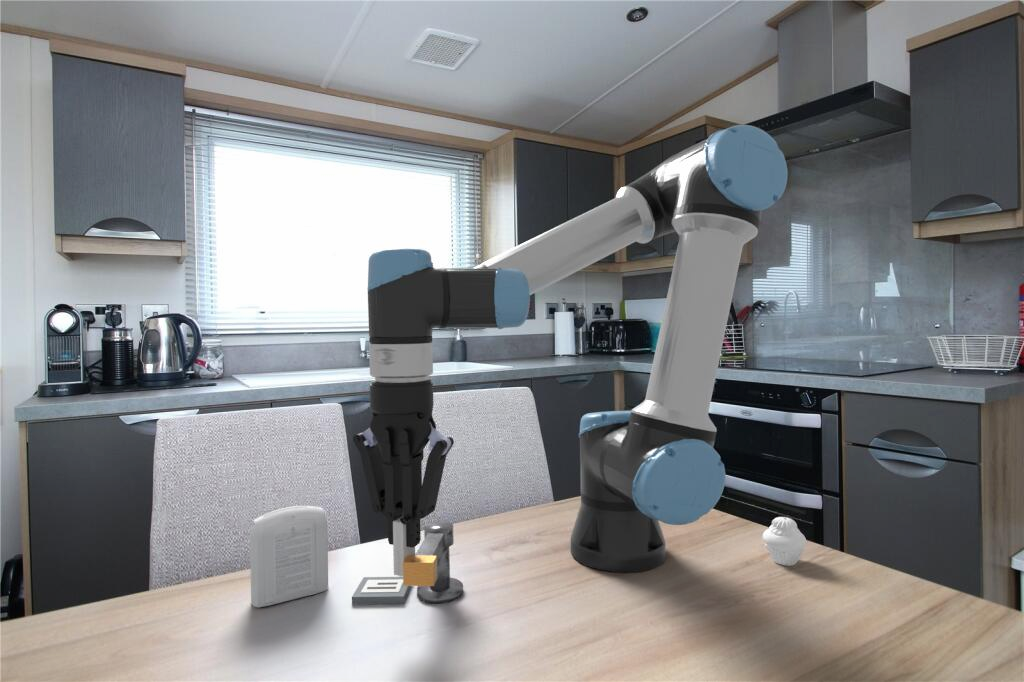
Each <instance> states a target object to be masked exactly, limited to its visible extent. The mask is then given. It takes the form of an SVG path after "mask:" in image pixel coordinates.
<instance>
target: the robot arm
mask: <svg viewBox="0 0 1024 682" xmlns="http://www.w3.org/2000/svg"><path fill="white" fill-rule="evenodd" d="M787 183H788V167H787V161H786V158H785V155H784V152H783V151H782V150H781V149H780V148H779V145H778V143H777V141H776V140H775V139H774V138H773V137H772V136H771V135H770V134H769V133H767V131H765V130H763V129H762V128H759V127H757V126H754V125H750V124H749V125H748V124H737V125H733V126H729V127H728V128H725V129H719V130H717V131H716V132H713V133H712V134H710V136H708V138H705V139H704V140H701V141H700V142H698V143H695V144H694V145H692V146H690V147H688V148H685V149H683V150H681V151H680V152H677V153H674V154H673V155H671V156H669V158H667V159H665V160H663V161H662V162H661V163H659V164H658V165H657V166H655V167H654V168H653V169H651V170H650V171H648V172H647V173H645V174H644V175H641V176H640V177H639V178H637V179H636V180H635V181H633V182H630V183H628V184H627V185H625V186H623V187H620V189H618V190H617V192H616V194H615V198H613V199H610V200H609V201H607V202H604V203H602V204H600V205H599V206H596V207H594V208H593V209H590V210H588V211H586V212H584V213H582V214H580V215H577V216H576V217H574V218H571V219H570V220H567V221H566V222H563V223H561V224H559V225H558V226H555V227H554V228H551V229H550V230H547V231H545V232H543V233H542V234H539V235H537V236H535V237H533V238H530V239H529V240H526V241H525V242H523V243H521V244H519V245H517V246H514V247H512V248H511V249H507V250H506V251H504V252H502V253H501V254H498V255H496V256H494V257H492V258H490V259H488V260H486V261H484V262H482V263H481V264H478V265H476V266H474V267H472V268H471V267H469V268H468V267H467V268H465V267H461V268H459V267H457V268H456V267H454V268H453V267H450V268H449V267H440V266H434V263H433V262H432V256H431V255H432V254H431V253H430V252H429V251H427V250H425V249H422V248H421V249H420V248H411V247H408V248H407V247H390V248H383V249H382V248H381V249H378V250H375V251H374V252H373V253H372V254H370V256H369V258H368V265H367V266H368V269H367V270H368V271H367V272H368V273H367V276H368V277H367V308H368V310H367V311H368V317H367V318H368V338H369V339H368V343H369V344H368V346H369V347H368V348H369V349H368V350H369V351H368V353H369V375H370V376H371V377H372V378H374V380H373V381H371V383H370V384H369V405H370V406H369V409H370V411H371V412H372V417H371V419H370V421H369V427H368V428H367V429H366V430H364V431H363V432H360V433H358V434H355V435H353V437H352V441H353V443H354V445H355V447H356V448H357V450H358V452H359V453H360V458H361V463H362V467H363V471H364V476H365V481H366V486H367V491H368V495H369V498H370V503H371V508H372V511H373V512H374V513H375V514H378V513H380V514H382V515H384V516H385V518H386V519H387V541H388V543H389V545H393V546H392V547H393V548H392V550H393V555H392V556H393V576H397V577H403V561H404V560H405V558H406V557H407V556H408V555H415V554H416V547H417V546H418V545H420V542H421V539H422V538H421V537H422V536H421V533H422V532H421V519H424V518H427V516H429V515H430V514H432V513H434V511H435V510H436V505H437V502H438V497H439V492H440V487H441V482H442V477H443V473H444V469H445V465H446V461H447V460H446V459H447V455H448V454H449V453H450V451H451V449H452V447H453V446H454V444H455V441H454V438H453V437H451V436H447V437H445V436H444V435H443V434H442V433H440V431H438V430H437V425H436V422H435V420H434V418H433V409H434V381H432V379H430V378H429V377H431V375H432V374H434V359H433V330H434V329H439V330H443V329H444V330H445V329H458V330H463V329H498V330H502V329H510V328H519V327H521V326H522V325H524V324H525V322H526V320H527V319H528V316H529V313H530V307H531V306H530V305H531V304H530V303H531V295H532V296H533V294H535V293H537V292H539V291H542V290H543V289H545V288H548V287H549V286H551V285H554V284H555V283H557V282H559V281H561V280H563V279H565V278H567V277H569V276H571V275H573V274H575V273H577V272H579V271H581V270H583V269H584V268H587V267H588V266H590V265H592V264H595V263H596V262H598V261H600V260H603V259H605V258H606V257H608V256H610V255H612V254H614V253H616V252H617V251H620V250H622V249H624V248H626V247H627V246H630V245H632V244H633V243H636V242H637V243H639V244H647V243H649V242H651V241H653V240H655V239H657V238H659V237H662V236H665V235H668V234H671V233H675V232H676V233H677V235H678V236H679V237H678V243H677V248H676V252H675V258H674V262H673V266H672V271H671V274H670V275H671V276H670V280H669V285H668V291H667V295H666V299H665V304H664V310H663V314H662V318H661V323H660V329H659V333H658V336H657V337H658V339H657V342H656V348H655V352H654V356H653V361H652V366H651V370H650V374H649V380H648V383H647V389H646V394H645V399H644V400H643V401H642V402H641V403H640V404H638V405H636V406H635V407H633V408H632V409H631V410H612V411H596V412H589V413H586V414H584V415H583V416H582V417H581V418H580V423H579V433H578V438H579V467H580V469H579V470H580V471H579V473H580V478H579V479H580V507H579V509H578V513H577V516H576V519H575V522H574V526H573V528H572V532H571V534H570V554H571V556H572V557H573V559H575V560H576V561H577V562H579V563H580V564H583V565H585V566H587V567H590V568H594V569H597V570H602V571H607V572H615V573H632V572H633V573H636V572H643V571H648V570H651V569H653V568H656V567H659V566H660V565H662V564H663V562H664V561H665V560H666V557H667V547H666V545H667V544H666V540H665V536H664V533H663V530H662V528H661V523H664V524H667V525H669V526H670V525H671V526H684V525H688V524H692V523H695V522H697V521H698V520H700V518H702V517H703V516H704V515H705V516H706V515H708V514H709V513H710V512H711V511H712V509H713V508H714V507H715V506H716V505H717V503H718V502H719V500H720V499H721V496H722V494H723V491H724V488H725V486H726V485H725V484H726V470H725V464H724V463H723V461H722V460H721V458H722V457H721V456H720V454H719V453H718V452H717V450H715V448H714V445H715V441H716V435H717V427H716V426H715V424H714V422H713V421H712V420H711V418H710V416H709V410H710V405H711V402H712V396H713V392H714V387H715V382H716V378H717V372H718V368H719V363H720V359H721V358H720V357H721V353H722V349H723V344H724V339H725V335H726V334H725V333H726V330H727V325H728V319H729V314H730V310H731V306H732V300H733V296H734V291H735V286H736V281H737V276H738V271H739V267H740V261H741V256H742V252H743V247H744V245H745V244H746V243H749V241H751V240H753V239H754V238H756V237H757V236H758V233H759V228H760V225H761V224H760V223H761V219H762V214H763V211H764V210H766V209H769V208H770V207H772V206H773V205H774V204H775V203H776V202H778V201H779V199H781V197H782V196H783V194H784V192H785V190H786V187H787ZM428 443H429V446H428V450H429V451H430V452H429V454H428V457H427V461H426V465H425V468H424V475H423V474H422V473H423V472H422V471H423V470H422V469H423V468H422V466H423V465H422V463H423V460H424V456H425V455H424V449H425V447H427V444H428ZM380 448H381V449H380ZM422 477H423V478H422ZM660 522H661V523H660Z"/></svg>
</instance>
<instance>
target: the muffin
mask: <svg viewBox="0 0 1024 682" xmlns="http://www.w3.org/2000/svg"><path fill="white" fill-rule="evenodd" d="M762 540H763V542H764V546H765V548H766V549H767V551H768V553H769V555H770V557H771V559H772V561H773V562H774V563H776V564H778V565H781V566H786V567H787V566H788V567H791V566H795V565H796V564H797V562H798V560H800V558H801V556H802V555H803V553H804V552H805V548H806V546H807V539H806V537H805V535H804V534H803V533H802V532H801V531H800V529H799V528H798V524H797V522H796V521H795V520H794V519H792V518H791V517H786V516H778V517H775V518H774V519H772V520H771V525H770V526H769V528H767V529H766V530H764V531H763V534H762Z"/></svg>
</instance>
